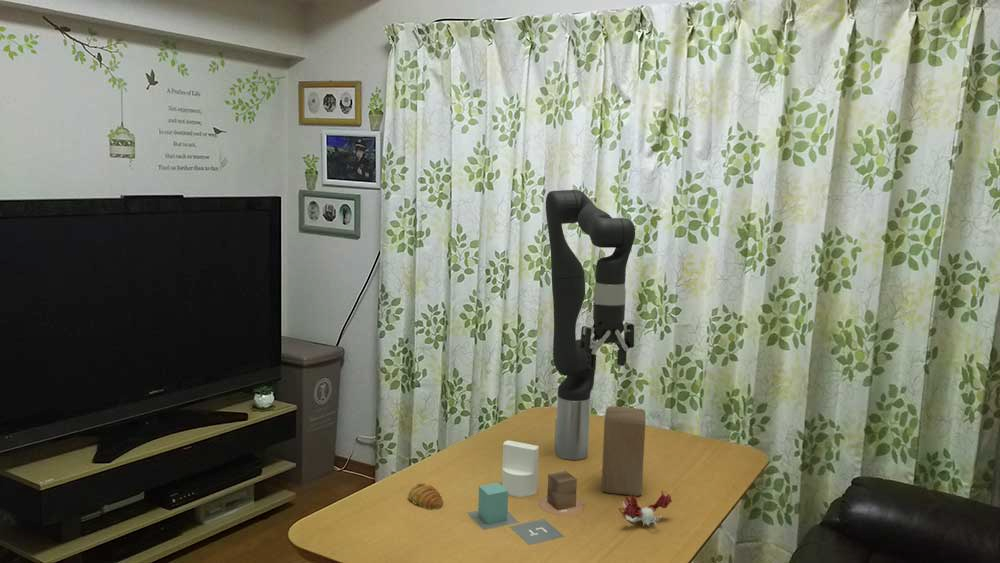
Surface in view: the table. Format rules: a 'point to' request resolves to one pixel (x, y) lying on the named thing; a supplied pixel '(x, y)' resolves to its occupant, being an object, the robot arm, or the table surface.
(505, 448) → the cylinder with rectangular tab
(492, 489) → the teal block
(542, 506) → the pink round disc
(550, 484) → the walnut block
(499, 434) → the table surface
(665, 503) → the figurine
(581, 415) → the robot arm
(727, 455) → the table surface
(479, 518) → the code tile
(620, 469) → the block
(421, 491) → the pastry
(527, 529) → the code tile
